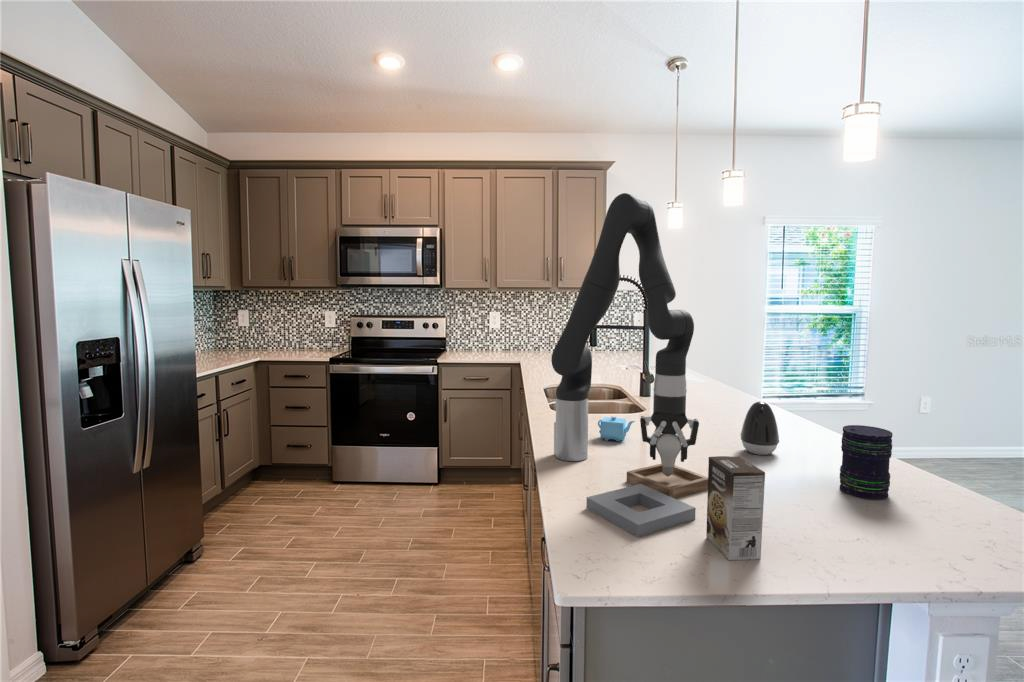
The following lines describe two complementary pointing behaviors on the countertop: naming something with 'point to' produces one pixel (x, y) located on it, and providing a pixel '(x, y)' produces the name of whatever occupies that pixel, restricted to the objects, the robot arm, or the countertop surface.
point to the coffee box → (735, 507)
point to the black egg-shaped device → (760, 430)
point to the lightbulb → (668, 451)
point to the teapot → (613, 428)
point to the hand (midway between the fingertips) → (667, 459)
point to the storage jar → (865, 462)
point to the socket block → (640, 523)
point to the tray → (669, 480)
